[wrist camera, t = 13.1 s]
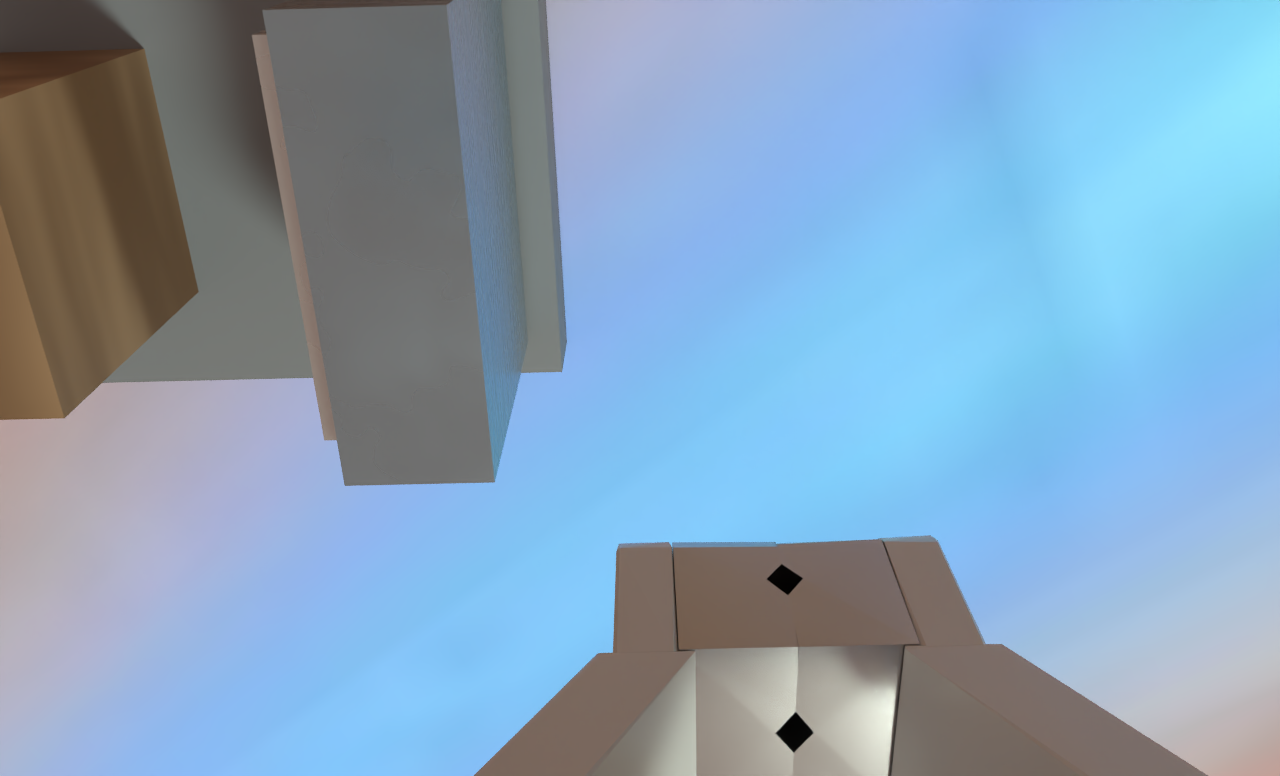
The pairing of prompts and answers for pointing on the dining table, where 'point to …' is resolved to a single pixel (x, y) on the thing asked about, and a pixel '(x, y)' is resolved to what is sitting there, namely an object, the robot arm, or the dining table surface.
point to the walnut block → (82, 225)
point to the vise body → (247, 180)
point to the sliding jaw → (401, 227)
